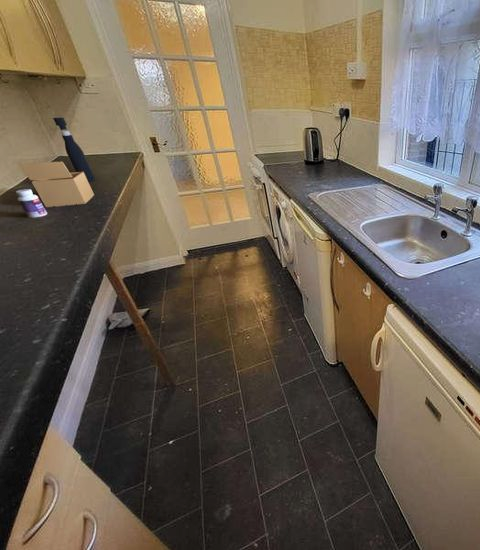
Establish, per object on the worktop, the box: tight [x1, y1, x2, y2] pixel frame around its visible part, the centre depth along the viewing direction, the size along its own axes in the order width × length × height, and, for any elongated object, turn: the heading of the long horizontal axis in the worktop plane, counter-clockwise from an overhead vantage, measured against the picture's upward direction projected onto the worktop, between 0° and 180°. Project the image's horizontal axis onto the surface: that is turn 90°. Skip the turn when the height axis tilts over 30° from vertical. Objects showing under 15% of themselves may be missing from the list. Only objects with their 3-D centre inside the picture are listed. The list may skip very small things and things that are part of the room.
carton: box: [31, 171, 95, 208], centre depth 127 cm, size 14×13×10 cm
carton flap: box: [17, 161, 72, 181], centre depth 116 cm, size 7×13×1 cm
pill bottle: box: [15, 188, 48, 219], centre depth 111 cm, size 5×5×10 cm
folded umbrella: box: [53, 117, 97, 182], centre depth 151 cm, size 6×6×30 cm
